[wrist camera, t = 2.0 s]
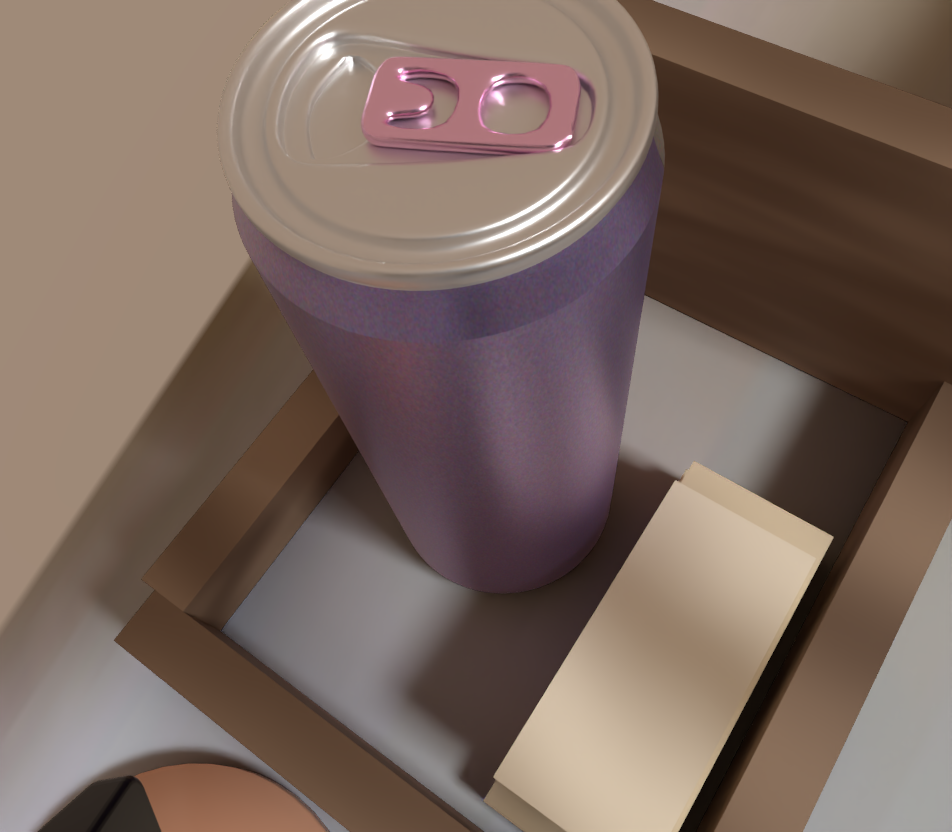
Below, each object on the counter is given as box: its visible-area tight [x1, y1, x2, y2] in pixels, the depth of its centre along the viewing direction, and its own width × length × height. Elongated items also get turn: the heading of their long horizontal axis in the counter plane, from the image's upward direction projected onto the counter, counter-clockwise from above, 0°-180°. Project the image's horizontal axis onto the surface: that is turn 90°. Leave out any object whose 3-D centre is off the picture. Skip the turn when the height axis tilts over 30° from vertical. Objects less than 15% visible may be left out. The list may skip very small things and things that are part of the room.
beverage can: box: [217, 0, 665, 593], centre depth 17 cm, size 6×6×15 cm
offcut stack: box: [483, 461, 833, 832], centre depth 20 cm, size 10×4×4 cm, turn 146°
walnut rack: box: [114, 0, 952, 832], centre depth 19 cm, size 18×16×9 cm
